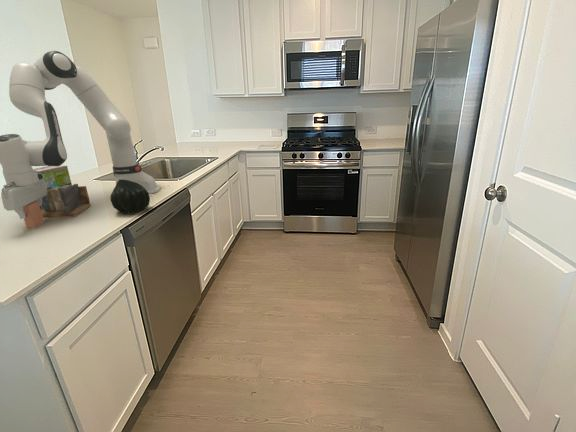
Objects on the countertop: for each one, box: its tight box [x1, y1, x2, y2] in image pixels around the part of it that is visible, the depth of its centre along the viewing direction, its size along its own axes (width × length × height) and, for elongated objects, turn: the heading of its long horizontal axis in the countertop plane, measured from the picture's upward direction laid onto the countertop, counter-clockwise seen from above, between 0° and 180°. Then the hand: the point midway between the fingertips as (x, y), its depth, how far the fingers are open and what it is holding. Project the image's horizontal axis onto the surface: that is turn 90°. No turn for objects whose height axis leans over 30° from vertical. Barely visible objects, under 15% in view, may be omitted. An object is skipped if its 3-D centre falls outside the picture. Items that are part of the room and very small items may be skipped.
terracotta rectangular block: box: [23, 201, 45, 229], centre depth 122 cm, size 3×6×9 cm, turn 7°
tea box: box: [33, 164, 73, 188], centre depth 161 cm, size 15×10×15 cm, turn 168°
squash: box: [110, 179, 151, 215], centre depth 136 cm, size 14×15×15 cm
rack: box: [41, 183, 92, 219], centre depth 136 cm, size 20×14×12 cm
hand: (32, 213), depth 122 cm, fingers open, 8 cm apart
